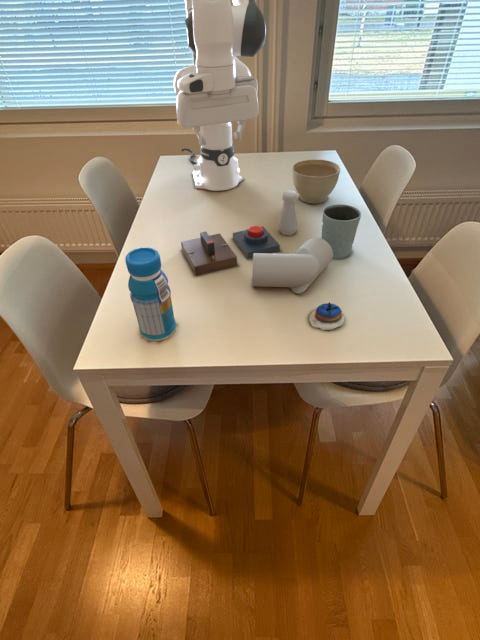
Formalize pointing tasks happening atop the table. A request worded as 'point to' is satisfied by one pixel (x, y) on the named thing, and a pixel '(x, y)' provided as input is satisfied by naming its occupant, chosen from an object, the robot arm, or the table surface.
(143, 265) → the beverage bottle
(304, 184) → the planter bowl
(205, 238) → the lever
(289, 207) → the salt shaker
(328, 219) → the light blue cup
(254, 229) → the red button
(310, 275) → the bent grey cylinder
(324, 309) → the dessert
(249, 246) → the button box
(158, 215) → the table surface
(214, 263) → the dial base
